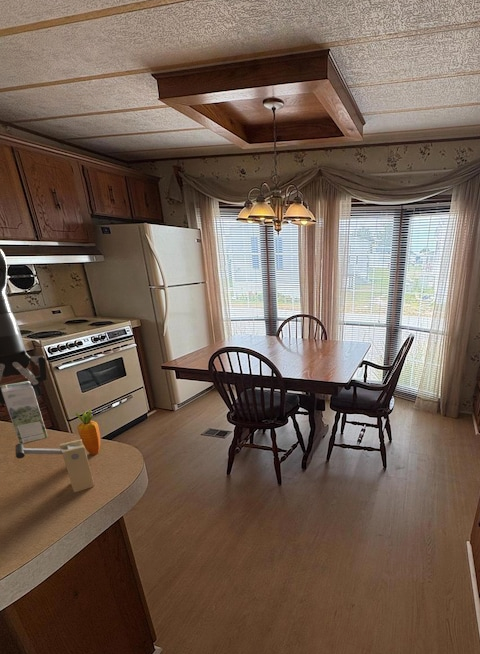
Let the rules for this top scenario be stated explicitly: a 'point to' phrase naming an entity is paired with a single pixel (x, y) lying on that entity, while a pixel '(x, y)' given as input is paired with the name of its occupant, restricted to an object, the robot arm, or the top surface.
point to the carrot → (89, 433)
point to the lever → (37, 450)
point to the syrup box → (24, 412)
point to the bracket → (77, 465)
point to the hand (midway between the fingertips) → (20, 400)
